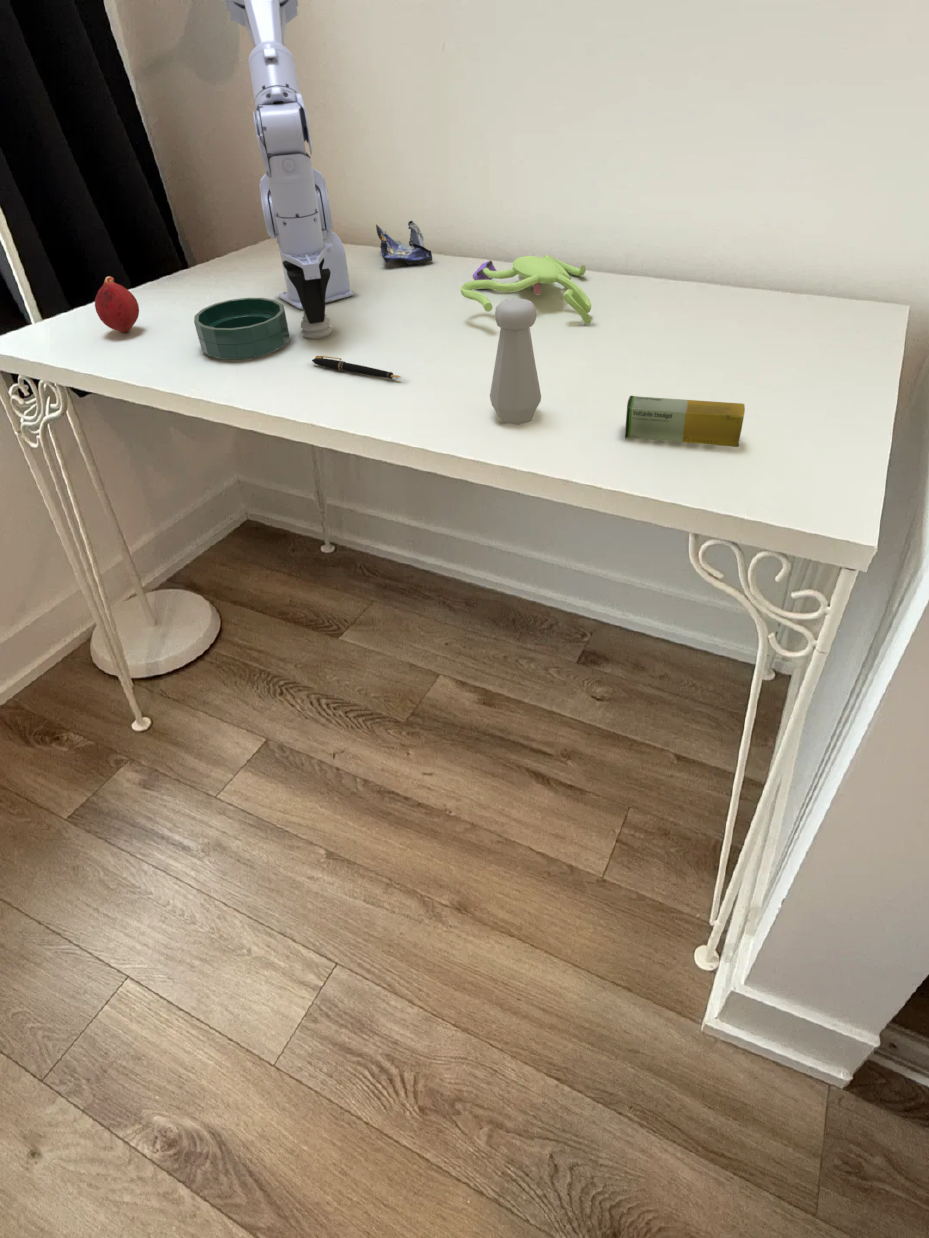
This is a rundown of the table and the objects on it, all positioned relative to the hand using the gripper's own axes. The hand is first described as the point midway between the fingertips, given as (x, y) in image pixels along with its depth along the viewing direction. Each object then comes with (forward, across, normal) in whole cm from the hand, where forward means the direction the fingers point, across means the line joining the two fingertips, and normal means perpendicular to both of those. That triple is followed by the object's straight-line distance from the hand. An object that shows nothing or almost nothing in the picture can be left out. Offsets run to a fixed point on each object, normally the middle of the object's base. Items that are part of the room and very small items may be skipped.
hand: (314, 317), depth 111 cm
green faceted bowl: (+2, 0, +10) cm, 10 cm away
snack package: (+3, +29, -20) cm, 36 cm away
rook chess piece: (+3, 0, 0) cm, 3 cm away
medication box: (+3, -47, -32) cm, 57 cm away
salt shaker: (+3, -35, -18) cm, 39 cm away
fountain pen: (+3, -16, -3) cm, 16 cm away
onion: (+3, +12, +27) cm, 30 cm away
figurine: (+3, 0, -32) cm, 32 cm away
